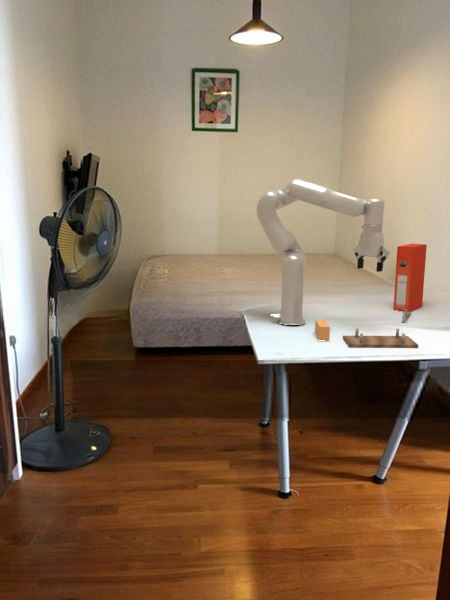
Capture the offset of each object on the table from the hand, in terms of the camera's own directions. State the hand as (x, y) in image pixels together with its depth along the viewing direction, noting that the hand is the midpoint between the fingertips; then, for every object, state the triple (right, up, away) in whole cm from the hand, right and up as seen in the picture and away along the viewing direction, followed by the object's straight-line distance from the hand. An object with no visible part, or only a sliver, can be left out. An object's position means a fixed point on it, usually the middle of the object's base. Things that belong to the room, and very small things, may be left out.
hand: (369, 269), depth 212 cm
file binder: (+32, -17, +43) cm, 56 cm away
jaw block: (-22, -28, -7) cm, 36 cm away
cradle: (-1, -30, -16) cm, 33 cm away
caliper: (+24, -22, +23) cm, 40 cm away
